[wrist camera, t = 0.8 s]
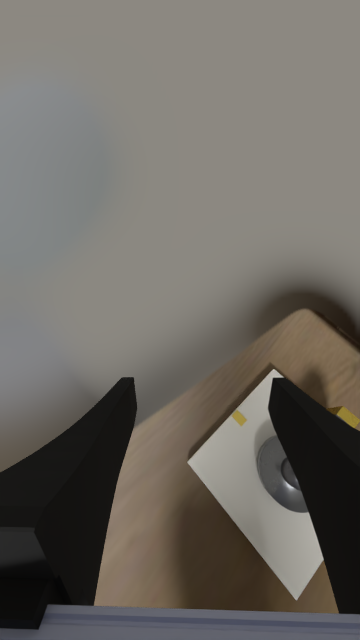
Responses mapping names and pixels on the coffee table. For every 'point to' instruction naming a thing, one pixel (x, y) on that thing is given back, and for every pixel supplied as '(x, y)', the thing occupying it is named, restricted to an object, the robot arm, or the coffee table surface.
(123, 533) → the coffee table surface
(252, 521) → the dial plate
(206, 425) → the coffee table surface
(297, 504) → the dial
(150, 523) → the coffee table surface
